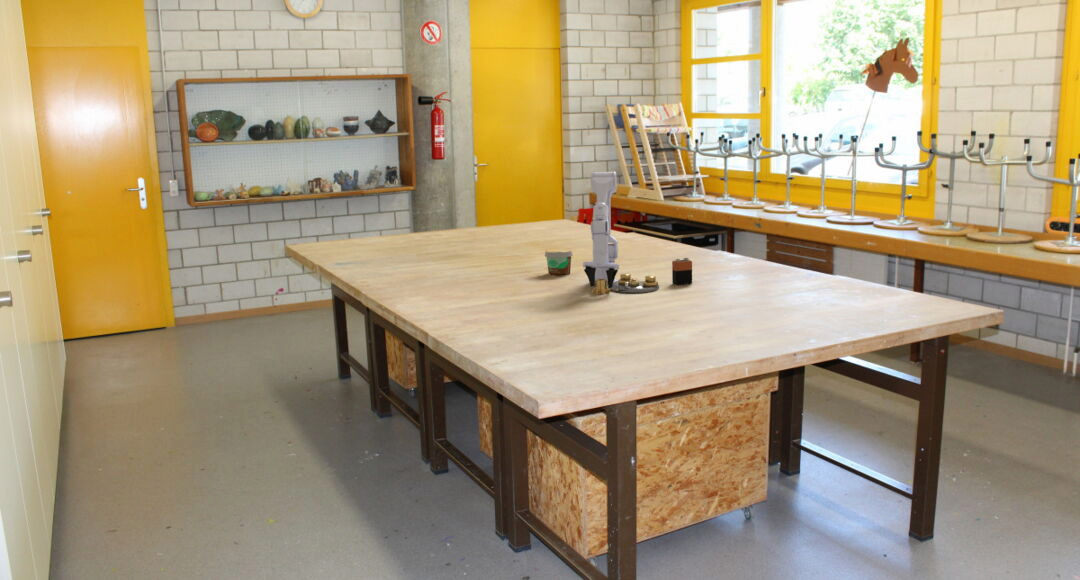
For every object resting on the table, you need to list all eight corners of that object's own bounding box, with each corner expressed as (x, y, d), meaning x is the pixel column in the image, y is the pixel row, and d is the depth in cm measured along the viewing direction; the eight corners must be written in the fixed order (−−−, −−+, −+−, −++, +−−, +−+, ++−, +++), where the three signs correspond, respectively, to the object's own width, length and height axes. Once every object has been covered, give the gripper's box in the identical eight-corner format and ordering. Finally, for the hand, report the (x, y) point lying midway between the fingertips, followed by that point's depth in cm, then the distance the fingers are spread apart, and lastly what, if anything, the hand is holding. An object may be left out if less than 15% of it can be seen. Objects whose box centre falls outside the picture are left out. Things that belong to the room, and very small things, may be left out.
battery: (692, 284, 348) (692, 258, 346) (676, 285, 347) (676, 260, 345) (688, 282, 353) (687, 257, 351) (671, 283, 351) (671, 258, 349)
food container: (540, 275, 377) (540, 252, 375) (546, 273, 383) (545, 250, 381) (568, 276, 373) (567, 253, 371) (573, 274, 378) (572, 250, 376)
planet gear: (589, 293, 338) (589, 280, 337) (598, 290, 344) (597, 277, 343) (604, 294, 335) (604, 282, 334) (613, 291, 340) (613, 278, 339)
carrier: (600, 291, 342) (600, 279, 341) (624, 282, 357) (623, 271, 356) (645, 295, 331) (645, 283, 330) (667, 285, 347) (667, 274, 346)
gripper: (578, 252, 337) (579, 287, 339) (612, 254, 329) (613, 290, 332) (587, 249, 342) (588, 284, 345) (621, 251, 335) (622, 287, 337)
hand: (601, 287), depth 339 cm, fingers open, 7 cm apart
